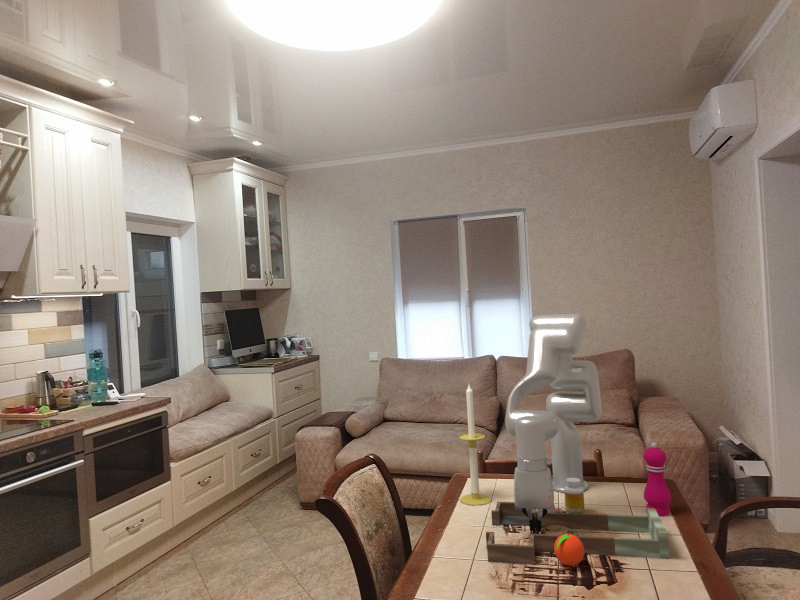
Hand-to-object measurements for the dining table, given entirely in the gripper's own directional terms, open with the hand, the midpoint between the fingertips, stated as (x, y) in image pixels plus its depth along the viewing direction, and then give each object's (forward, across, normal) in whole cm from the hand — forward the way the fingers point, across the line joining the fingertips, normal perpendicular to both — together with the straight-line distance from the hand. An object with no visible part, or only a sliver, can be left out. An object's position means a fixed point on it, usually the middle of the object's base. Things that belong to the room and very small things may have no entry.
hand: (536, 533), depth 148 cm
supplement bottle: (+2, -11, -19) cm, 22 cm away
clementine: (+2, -8, +14) cm, 16 cm away
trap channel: (+1, -10, 0) cm, 10 cm away
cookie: (+2, -6, 0) cm, 6 cm away
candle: (+2, +19, -27) cm, 33 cm away
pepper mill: (+2, -34, -22) cm, 40 cm away
